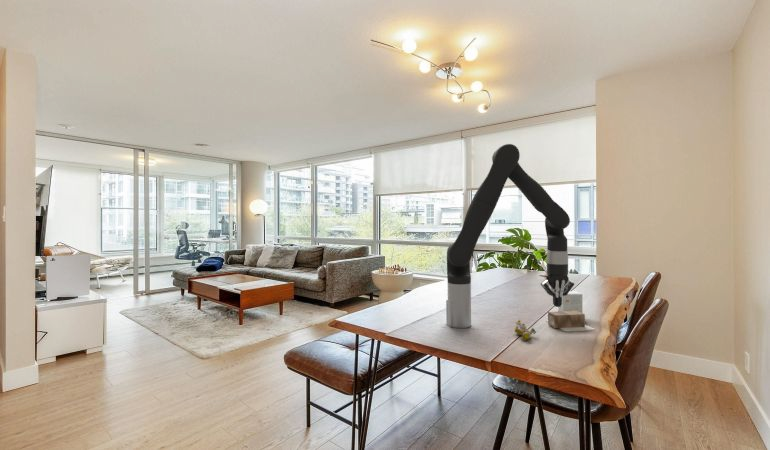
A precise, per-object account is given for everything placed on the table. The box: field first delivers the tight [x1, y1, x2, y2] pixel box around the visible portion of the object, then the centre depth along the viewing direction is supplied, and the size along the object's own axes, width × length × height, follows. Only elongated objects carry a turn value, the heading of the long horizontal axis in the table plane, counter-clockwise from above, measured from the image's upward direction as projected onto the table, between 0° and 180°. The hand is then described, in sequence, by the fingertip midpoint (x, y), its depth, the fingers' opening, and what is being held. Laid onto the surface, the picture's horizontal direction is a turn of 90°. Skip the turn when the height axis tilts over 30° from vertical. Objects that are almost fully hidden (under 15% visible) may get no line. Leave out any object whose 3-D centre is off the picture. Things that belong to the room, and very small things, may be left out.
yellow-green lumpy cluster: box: [513, 319, 537, 342], centre depth 130 cm, size 5×5×15 cm
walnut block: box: [547, 311, 586, 329], centre depth 139 cm, size 5×5×12 cm
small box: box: [557, 290, 584, 314], centre depth 151 cm, size 8×6×10 cm
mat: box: [545, 319, 596, 332], centre depth 140 cm, size 12×13×1 cm
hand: (557, 306), depth 138 cm, fingers closed
